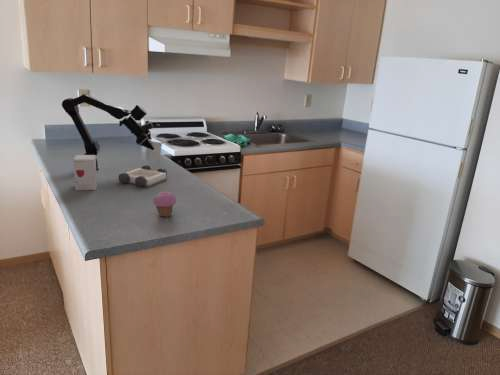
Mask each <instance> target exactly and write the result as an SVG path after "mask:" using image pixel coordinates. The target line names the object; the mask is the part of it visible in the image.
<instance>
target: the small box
mask: <svg viewBox="0 0 500 375" xmlns="http://www.w3.org/2000/svg"><path fill="white" fill-rule="evenodd" d="M148 140H149V142H150V143H151V145H152V146H153V147H154V150H151V149H149V148H146V152H145V158H146V159H147V160H149V161H152V162H160V157H161V153H162V152H161V151H162V144H163V143H162V142H161V141H160V140H157V139H153V138H152V139H148Z"/></svg>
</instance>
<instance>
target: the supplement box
mask: <svg viewBox="0 0 500 375" xmlns="http://www.w3.org/2000/svg"><path fill="white" fill-rule="evenodd" d="M96 158H97V155H84V154H75V156H74V158H73V170H74V171H73V172H74V186H75V191H96V190H97V186H98V176H97V170H96Z"/></svg>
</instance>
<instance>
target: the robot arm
mask: <svg viewBox="0 0 500 375" xmlns="http://www.w3.org/2000/svg"><path fill="white" fill-rule="evenodd" d="M81 104H87V105H88V106H91V107H94V108H96V109H99V110H101V111H104V112H107V113H108V115H110V116H112V117H113V118H115V119H117V120H119V124H118V125H119V127H122V125H124V126H125V127H126V128H127V129H128V131H130V133H129V134H133V135H134V136H135V137H136V139H135V143H136V144H137V145H138V146H142V147H144V148H146V149H147V148H149V149H151V150H154V147H153V146H152V145H151V143H150V142H149V140H148V139H152V140H153V138H152V135H151V134H152V133H151V130H152V129H154V125H153V122H152V121H149V120H146V121H145V122H144V124H141V123H138V122H137V121H139V122H140V121H141V120H142V119H143V118H144V117H145V116H147V115H148V113H147V111H146V110H145V109H144V108H143V107H142V106H140V105H139V104H136V105H135V106H134V108H133V109H131V110H128V109H125V108H124V107H122V106H119V105H114V104H110V103H107V102H106V101H105V102H104V101H103V100H100V99H97V98H96V97H95V98H94V97H92V96H90V95H89V94H87V93H86V94H85V93H84V94H82V95H79V96H77V97H75V98H74V97H69V98H65V99H64V100H63V101H62V102H61V107H62V109H63V110H64V111H65V113H66V114H67V115H68V116H69V117H70V118H71V120H72V122H73V124H74V126H75V128H76V130H77V131H78V133H79V135H80V138H81V139H82V141H83V146H84V150H85V153H83V155H96V156H97V155H98V154H99V153H100V152H101V146H100V144H99V143H98V140H97V139H96V140H94V139H93V138H92V137H91V134H90V133H89V130H88V128H87V127H86V125H85V122H84V120H83V119H82V117H81V114H80V109H79V105H81ZM97 159H98V158H97V157H96V171H97V170H99V169H100V168H99V164H98V160H97Z"/></svg>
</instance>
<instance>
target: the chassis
mask: <svg viewBox="0 0 500 375" xmlns="http://www.w3.org/2000/svg"><path fill="white" fill-rule="evenodd" d="M167 176H168V171H167V169H166V168H164V167H161V168H159V169H157V170H152V168H151V166H150V165H147V164H146V165H142V166H141V167H138V168H136V169H132V170H129V171H127V172H123V173H120V174H119V175H118V182H120V183H121V184H133V185H136V186H137V187H139V188H142V187H147V188H148V187H152V186H154V185H156V184H158V183H161V182H163V181H165V180H167Z"/></svg>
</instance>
